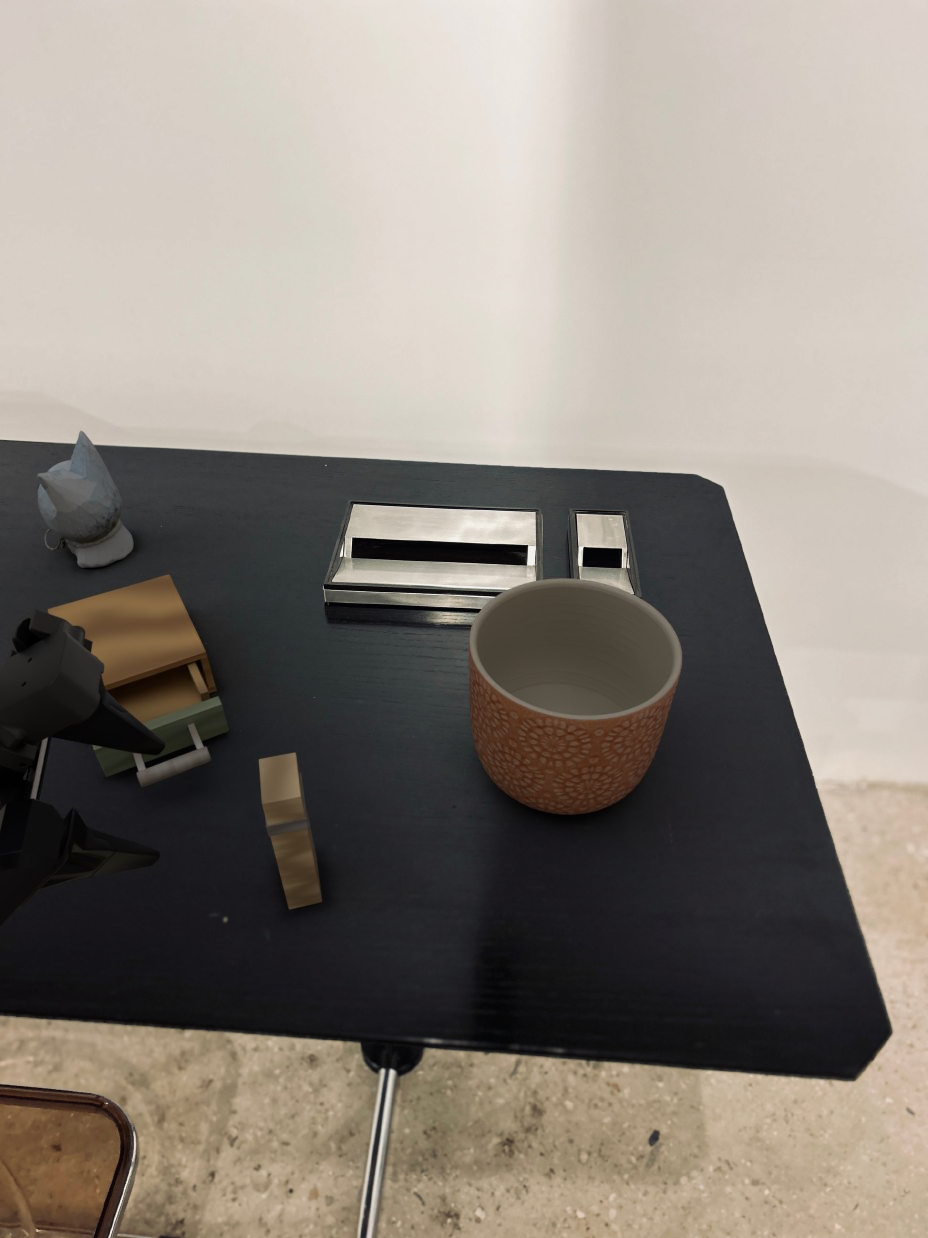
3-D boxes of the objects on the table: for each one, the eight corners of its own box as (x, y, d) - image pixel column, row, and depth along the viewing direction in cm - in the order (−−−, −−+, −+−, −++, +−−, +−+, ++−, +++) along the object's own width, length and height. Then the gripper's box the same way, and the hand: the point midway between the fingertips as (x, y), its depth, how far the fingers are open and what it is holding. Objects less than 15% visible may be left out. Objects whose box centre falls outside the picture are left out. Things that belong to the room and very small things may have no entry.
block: (287, 911, 61) (260, 805, 52) (283, 865, 64) (257, 758, 55) (323, 903, 61) (302, 797, 53) (318, 857, 64) (296, 750, 56)
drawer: (244, 765, 71) (237, 737, 68) (116, 815, 66) (104, 788, 64) (191, 648, 83) (183, 621, 80) (80, 684, 78) (68, 657, 76)
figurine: (99, 524, 102) (63, 417, 93) (151, 542, 99) (119, 434, 89) (37, 563, 96) (-10, 452, 86) (91, 584, 92) (48, 472, 83)
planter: (679, 829, 67) (717, 706, 57) (483, 855, 65) (489, 731, 55) (618, 689, 80) (641, 569, 70) (454, 707, 78) (454, 586, 68)
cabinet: (216, 690, 79) (206, 651, 76) (88, 736, 74) (70, 696, 71) (180, 612, 89) (169, 573, 85) (64, 647, 84) (47, 609, 80)
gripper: (-73, 759, 34) (235, 851, 43) (7, 527, 47) (227, 634, 57) (-183, 897, 37) (123, 955, 46) (-79, 644, 51) (142, 727, 60)
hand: (159, 800), depth 52 cm, fingers open, 9 cm apart
